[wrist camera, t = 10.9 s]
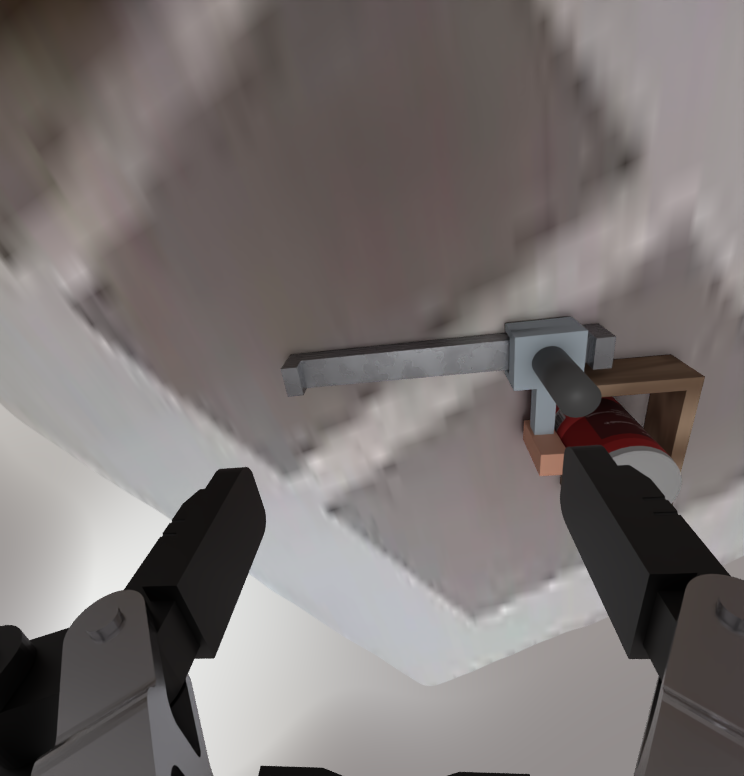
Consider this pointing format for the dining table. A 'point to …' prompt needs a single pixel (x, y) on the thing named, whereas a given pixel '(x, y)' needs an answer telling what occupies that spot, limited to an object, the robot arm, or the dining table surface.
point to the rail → (421, 360)
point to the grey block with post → (550, 382)
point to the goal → (657, 396)
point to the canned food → (621, 443)
